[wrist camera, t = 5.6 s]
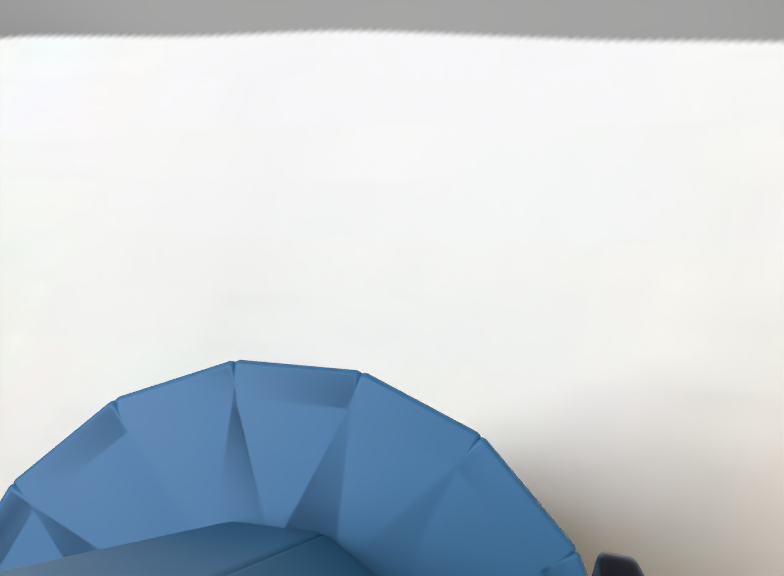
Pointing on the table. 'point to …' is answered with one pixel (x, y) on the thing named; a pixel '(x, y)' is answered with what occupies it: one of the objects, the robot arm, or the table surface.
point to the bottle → (276, 487)
